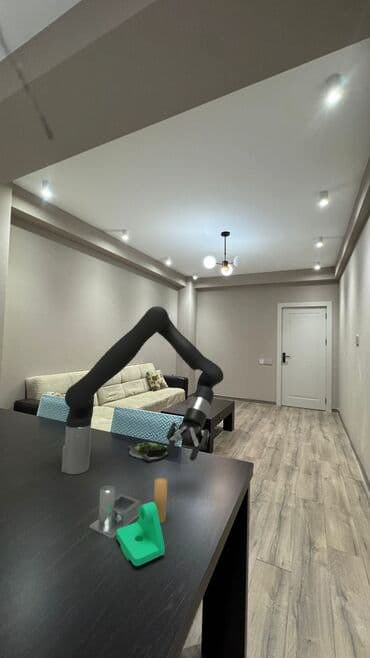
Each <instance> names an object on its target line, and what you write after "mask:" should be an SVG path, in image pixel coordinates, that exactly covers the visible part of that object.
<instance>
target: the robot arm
mask: <svg viewBox="0 0 370 658" xmlns="http://www.w3.org/2000/svg"><path fill="white" fill-rule="evenodd" d="M156 333H158V334H159V335H160V336H161V337H163V339H164V340H165V341H166V342H167V343H169V344H170V346H171V347H172V348H173V349H174V351H175V352H176V354H177V355H178V356H179V357H180V358H181V359H182V360H183V361H184V362H185V363H186V365H187V366H188V367H189V368H190V369H191V370H193V371H197V370H199V371H201V373H200V375H199V376H198V379H197V383H196V390H195V392H194V393H193V396H192V398H191V400H190V402H189V404H188V406H187V409H186V411H185V413H184V416H183V418H182V420H181V421H182V422H181V424H178V423H176V422H172V424H171V425H170V428H169V429H168V431H167V433H166V436H165V437H166V438H167V440H168V444H167V445H166V446H167V448H166V450H167V453H168V454H169V455H170V456H171V455H172V453H173V450H174V448H175V446H176V444H177V443H178V442H180V441H182V440H183V441H189V442H193V445H194V446H193V447H192V450H191V452H190V455H189V459H190V461H192V462H195V460H196V459H197V457H198V454H199V452H200V451H201V450H203V451H205V450H207V446H208V442H209V439H210V436H211V434H210V432H209V430H208V429H204V426H205V424H206V420H207V418H208V415H209V412H210V409H211V405H212V403H213V399H214V396H215V395H214V394H215V392H214V390H213V389H214V387H215V386H216V385H219V384H220V383H222V381H223V380H224V378H225V377H224V372H223V370H222V368H221V367H220V366H219V365H218V364H216V363H214V362H213V361H211V359H209V358H207V357H206V356H204V355H203V353H201V351H199V349H198V348H197V347H196V346H195V345H194V344H193V343H192V342H191V341H190V340H189V339H187V338H186V337H185V335H183V334H182V333H181V332H180V330H178V329H177V327H176V326H175V324H174V323H173V321H172V319H170V316H169V314H168V312H167V310H166V309H165V308H164V307H163V306H153V307H150V308H149V309H148V310H147V311H146V312H145V313H144V314H143V316H142V317H141V318H140V319H139V321H138V322H137V323H136V324H135V325H134V326H133V327H132V328H131V329H130V330H129V331H127V333H126V334H124V335H123V336H122V337H120V338H119V340H117V341H116V342H115V343H114V344H113V345H112V346H111V347H110V348H109V349H108V350H107V351H105V353H104V354H103V355H102V356H101V357H100V358H99V359H98V361H97V362H96V363H94V366H93V367H92V368H90V370H89V371H88V372H87V373H86V374H85V375H84V376H83V377H81V378H80V379H79V380H78V381H76V382H75V383H74V384H72V385H71V386H70V387H69V388H68V389H67V391H66V392H65V396H64V402H65V405H66V406H67V407H68V408H69V410H68V414H67V417H66V419H65V422H66V423H65V440H64V445H63V446H62V454H61V455H62V456H61V457H62V458H61V473H65V474H67V475H78V474H79V475H80V474H83V473H86V472H87V471H88V470H90V457H91V456H90V454H91V436H92V435H91V434H92V419H93V414H94V405H95V403H94V402H95V394H96V393H97V392H98V391H99V390H100V388H102V387H103V386H104V385H105V384H106V383H107V382H109V381H110V380H111V379H113V378H114V377H115V376H117V375H118V374H119V373H120V372H121V371H122V370H124V369H125V368H126V367H127V366H128V365H129V364H130V363H131V362H132V361H133V360H134V358H135V357H136V356H137V354H138V353H139V352H140V350H141V349H142V347H143V346H144V345H145V344H146V343H147V341H148V340H149V339H151V337H153V336H154V335H155V334H156ZM203 429H204V430H203ZM200 436H202V438H201V441H200V442H199V439H198V438H199V437H200Z"/></svg>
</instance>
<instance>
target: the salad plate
mask: <svg viewBox="0 0 370 658" xmlns="http://www.w3.org/2000/svg"><path fill="white" fill-rule="evenodd" d="M167 446H168V445H163V444H159V443H154V442H142V443H137V446H134V445H131V444H129V445H127V447H128V449H130V450H129V455H130V456H131V457H133V458H135V457H136V459H139V460H142V461H144V462H145V461H146V462H150V461H153V462H159V461H161V460H164V459H165V458H167V457H168V456H169V455H170V454H168V453H167V450H166V448H167Z"/></svg>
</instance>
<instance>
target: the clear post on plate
mask: <svg viewBox="0 0 370 658" xmlns="http://www.w3.org/2000/svg"><path fill="white" fill-rule="evenodd" d="M140 505H142V501H141V500H139V499H137V498H135V497H134V498H133V497H132V496H129V495H126V494H123V493H120V494H118V495H117V496H116V487H115V486H114V485H111V484H110V485H105V486H102V487H101V488H100V489H99V507H98V519H96V520H95V521H94V522H93V523H91V524H90V525H89V529H92V530H94V531H96V532H97V533H99V534H102V535H104V536H106V537H108V538H110V539H114V538H115V536H117V530H118V529H119V528H122V527H125V526H128V525H130V524H132V522H133V521H135V520H136V519H137V518H139V515H138V509H139V506H140Z"/></svg>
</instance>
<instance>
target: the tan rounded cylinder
mask: <svg viewBox="0 0 370 658" xmlns="http://www.w3.org/2000/svg"><path fill="white" fill-rule="evenodd" d="M153 491H154V495H153V502H154V503H155V505H156V507H157V511H158V516H159V521H160V524H163V523H165V522H166V520H167V517H166V516H167V499H168V495H167V494H168V492H167V491H168V479H167V478H165V477H158V478H156V479H155V480H154V490H153Z"/></svg>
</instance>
